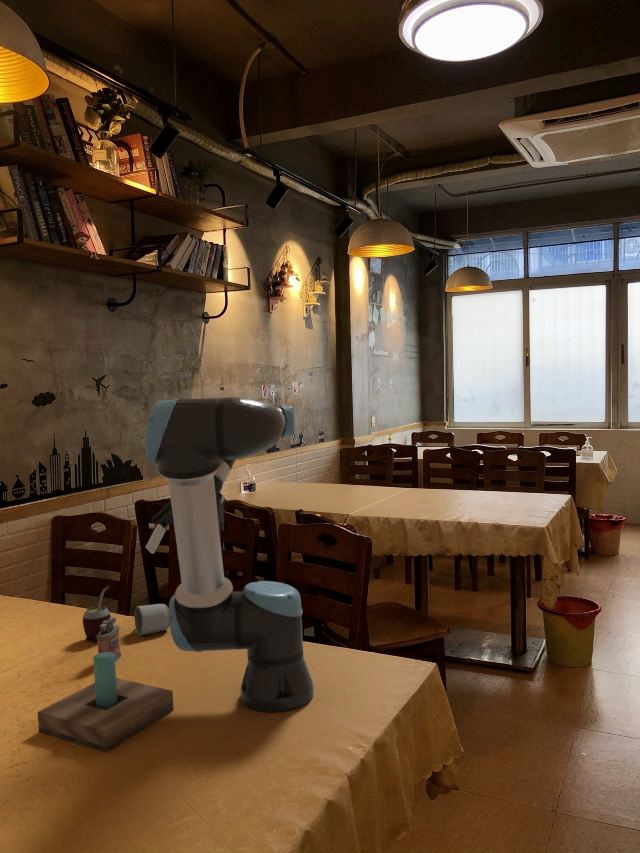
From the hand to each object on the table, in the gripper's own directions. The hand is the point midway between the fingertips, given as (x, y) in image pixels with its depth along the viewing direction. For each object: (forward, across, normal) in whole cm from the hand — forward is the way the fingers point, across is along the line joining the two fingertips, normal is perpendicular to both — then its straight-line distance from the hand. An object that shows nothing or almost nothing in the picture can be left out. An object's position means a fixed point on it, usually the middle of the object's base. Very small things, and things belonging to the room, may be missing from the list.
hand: (172, 553), depth 159 cm
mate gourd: (+14, +34, -26) cm, 45 cm away
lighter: (+21, +20, -19) cm, 34 cm away
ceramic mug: (+7, +26, -33) cm, 42 cm away
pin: (+36, -3, -2) cm, 36 cm away
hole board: (+37, -3, -2) cm, 37 cm away
